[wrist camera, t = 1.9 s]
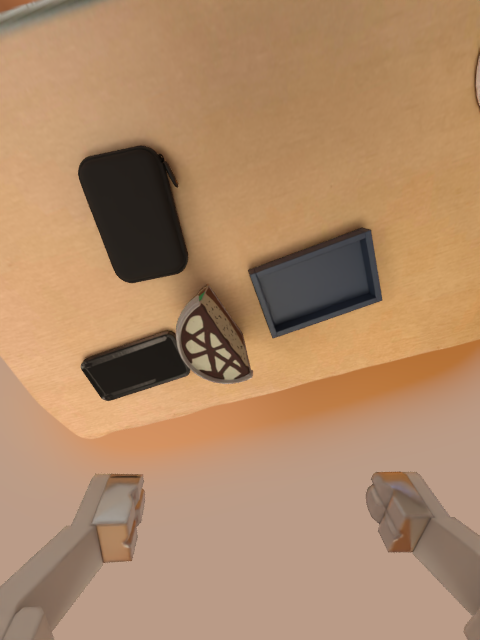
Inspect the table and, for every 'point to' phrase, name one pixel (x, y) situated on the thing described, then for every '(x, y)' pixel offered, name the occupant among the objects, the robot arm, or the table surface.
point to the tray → (318, 282)
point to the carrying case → (135, 212)
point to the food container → (212, 340)
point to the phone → (135, 366)
